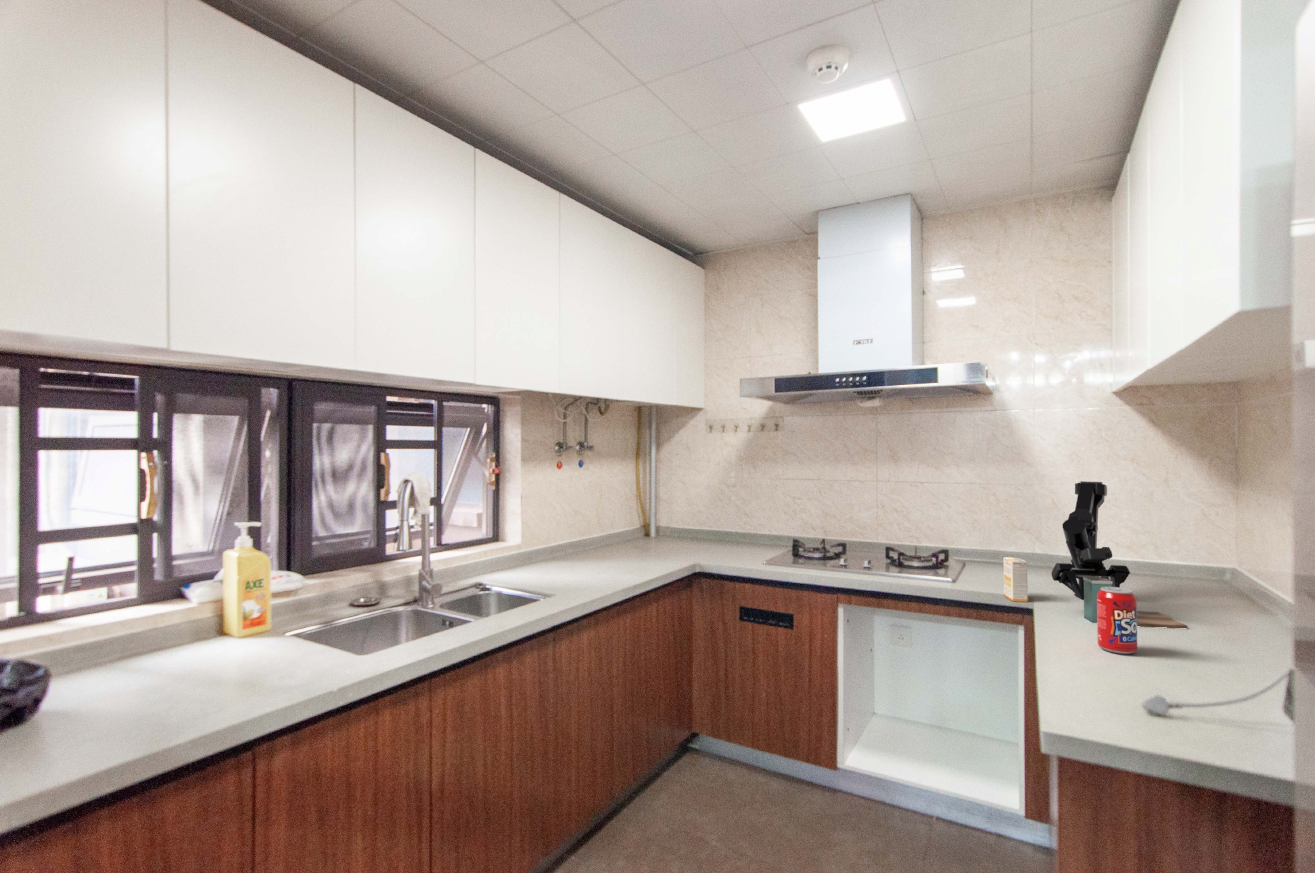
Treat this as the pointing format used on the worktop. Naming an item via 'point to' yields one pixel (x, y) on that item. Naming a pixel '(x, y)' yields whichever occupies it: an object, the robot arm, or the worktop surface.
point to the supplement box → (1015, 579)
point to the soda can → (1117, 620)
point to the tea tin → (1093, 595)
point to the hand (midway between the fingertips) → (1099, 598)
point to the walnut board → (1157, 620)
